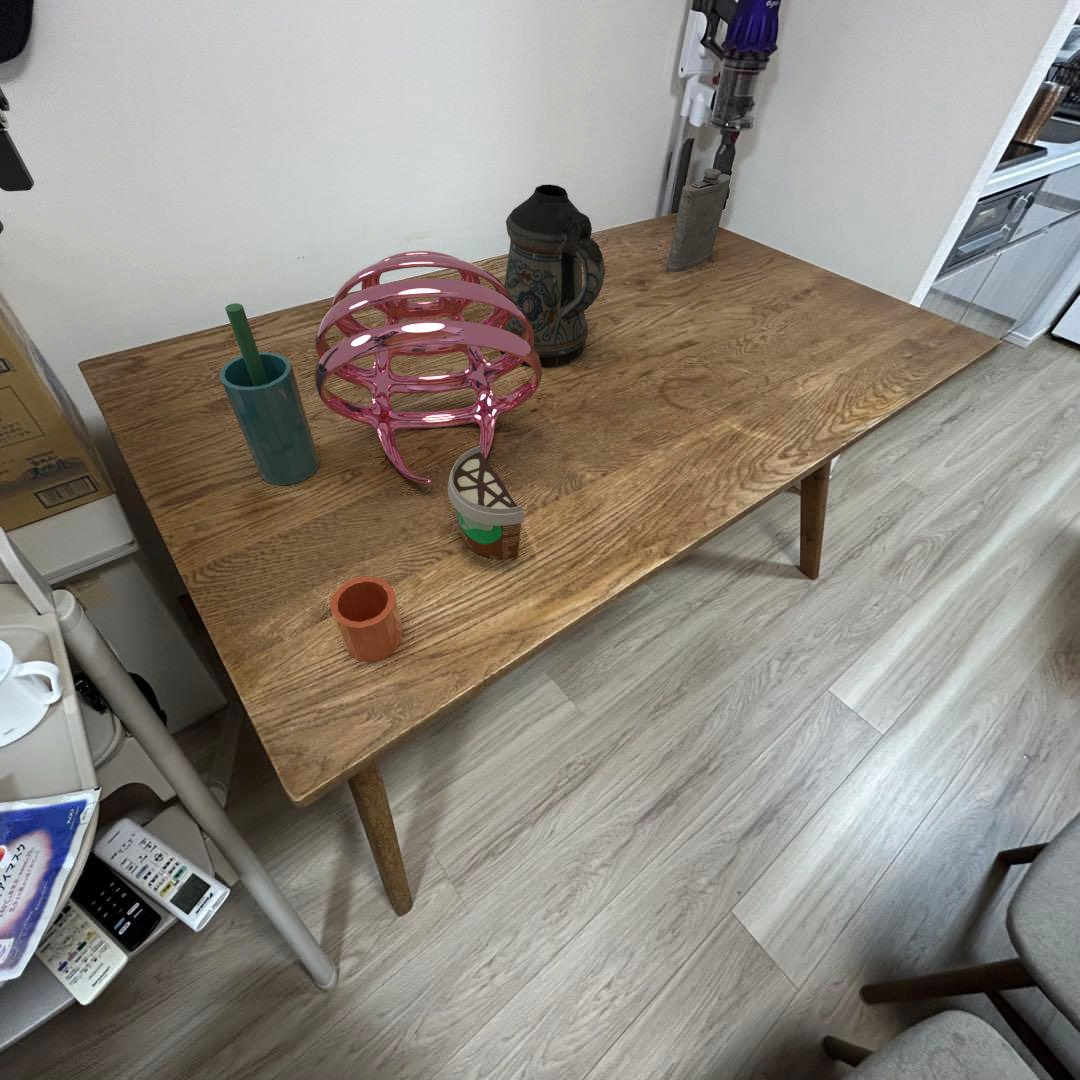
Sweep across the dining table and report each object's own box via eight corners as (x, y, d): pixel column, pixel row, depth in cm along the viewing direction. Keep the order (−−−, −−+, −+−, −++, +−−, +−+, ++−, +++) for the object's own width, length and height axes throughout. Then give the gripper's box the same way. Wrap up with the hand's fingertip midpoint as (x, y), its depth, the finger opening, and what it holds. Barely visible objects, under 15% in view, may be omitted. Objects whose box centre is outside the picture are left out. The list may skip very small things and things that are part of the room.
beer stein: (514, 312, 113) (516, 162, 94) (613, 335, 109) (635, 183, 90) (478, 356, 102) (472, 196, 84) (585, 382, 99) (604, 221, 80)
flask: (716, 256, 134) (740, 165, 120) (677, 274, 127) (697, 180, 113) (703, 251, 135) (725, 160, 122) (664, 268, 129) (682, 174, 115)
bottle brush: (275, 471, 80) (216, 316, 64) (275, 455, 82) (217, 301, 66) (302, 467, 81) (250, 313, 65) (301, 451, 83) (250, 298, 67)
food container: (437, 516, 77) (430, 456, 70) (481, 501, 79) (479, 442, 72) (475, 584, 70) (471, 526, 62) (522, 567, 72) (524, 508, 65)
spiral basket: (534, 426, 59) (501, 173, 62) (272, 471, 63) (254, 231, 66) (566, 482, 86) (542, 305, 90) (383, 511, 90) (366, 340, 93)
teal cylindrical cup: (258, 490, 79) (217, 393, 68) (259, 451, 84) (221, 356, 73) (321, 480, 81) (291, 384, 69) (318, 443, 86) (290, 348, 74)
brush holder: (347, 670, 62) (332, 633, 57) (342, 622, 66) (328, 583, 61) (407, 656, 63) (398, 619, 58) (399, 610, 67) (390, 571, 62)
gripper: (-214, -135, 34) (-27, 179, 46) (-384, -130, 25) (-97, 258, 37) (-60, -127, 36) (82, 174, 48) (-168, -120, 27) (40, 248, 39)
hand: (4, 211), depth 43 cm, fingers open, 8 cm apart
